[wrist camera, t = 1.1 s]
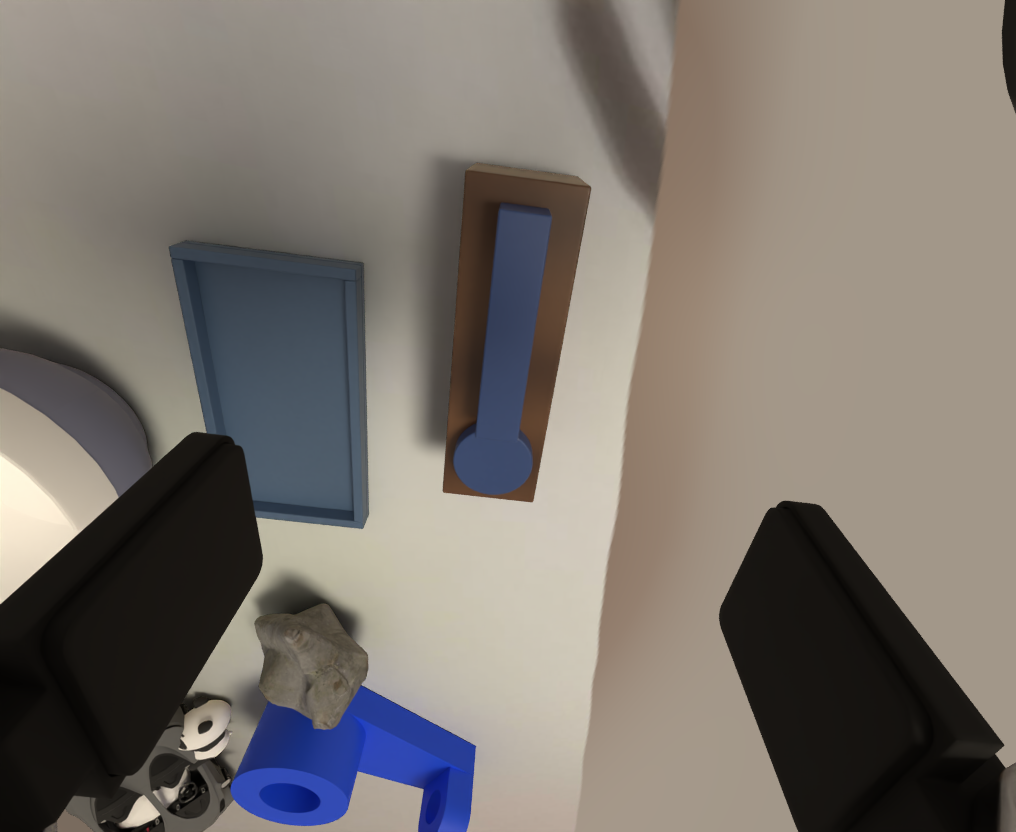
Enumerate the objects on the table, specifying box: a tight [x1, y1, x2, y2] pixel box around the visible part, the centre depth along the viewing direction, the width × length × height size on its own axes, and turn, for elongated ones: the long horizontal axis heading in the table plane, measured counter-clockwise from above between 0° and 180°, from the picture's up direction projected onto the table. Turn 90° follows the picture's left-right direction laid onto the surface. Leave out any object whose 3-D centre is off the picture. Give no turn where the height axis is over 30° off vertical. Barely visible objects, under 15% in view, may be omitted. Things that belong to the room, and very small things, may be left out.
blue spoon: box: [453, 203, 552, 495], centre depth 23 cm, size 14×4×2 cm, turn 173°
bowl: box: [0, 349, 152, 604], centre depth 28 cm, size 16×16×10 cm
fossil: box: [254, 603, 368, 730], centre depth 37 cm, size 11×9×8 cm
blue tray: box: [169, 241, 369, 529], centre depth 30 cm, size 17×9×2 cm, turn 173°
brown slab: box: [443, 163, 591, 502], centre depth 26 cm, size 16×5×5 cm, turn 173°
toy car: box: [65, 697, 234, 832], centre depth 47 cm, size 18×13×9 cm
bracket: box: [231, 686, 476, 832], centre depth 44 cm, size 20×9×8 cm, turn 55°
